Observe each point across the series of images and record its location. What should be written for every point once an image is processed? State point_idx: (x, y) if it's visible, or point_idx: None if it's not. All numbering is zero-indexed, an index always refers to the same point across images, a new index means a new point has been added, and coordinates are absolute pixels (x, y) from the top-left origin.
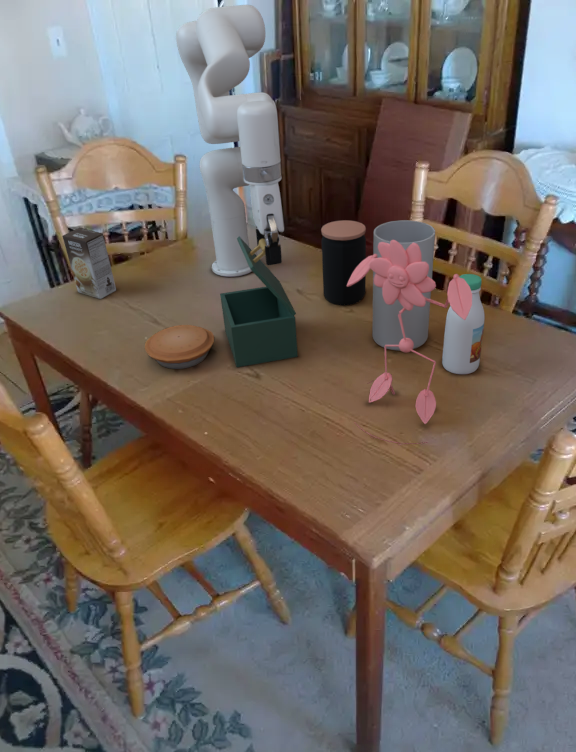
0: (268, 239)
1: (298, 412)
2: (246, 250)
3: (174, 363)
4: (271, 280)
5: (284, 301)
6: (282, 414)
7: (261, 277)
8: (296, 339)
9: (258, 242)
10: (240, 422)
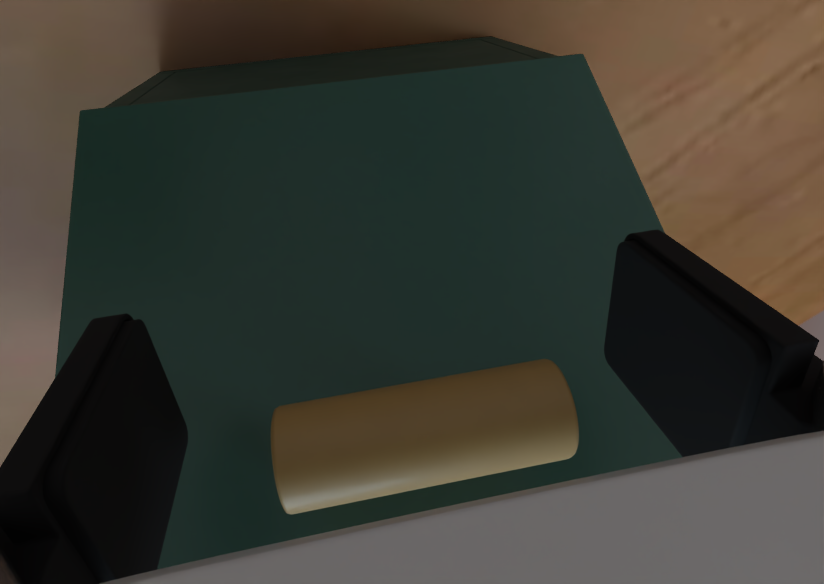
0: (132, 396)
1: (813, 86)
2: None
3: None
4: (440, 236)
5: (624, 145)
6: (793, 139)
7: None
8: (520, 45)
9: (177, 475)
10: (759, 256)
